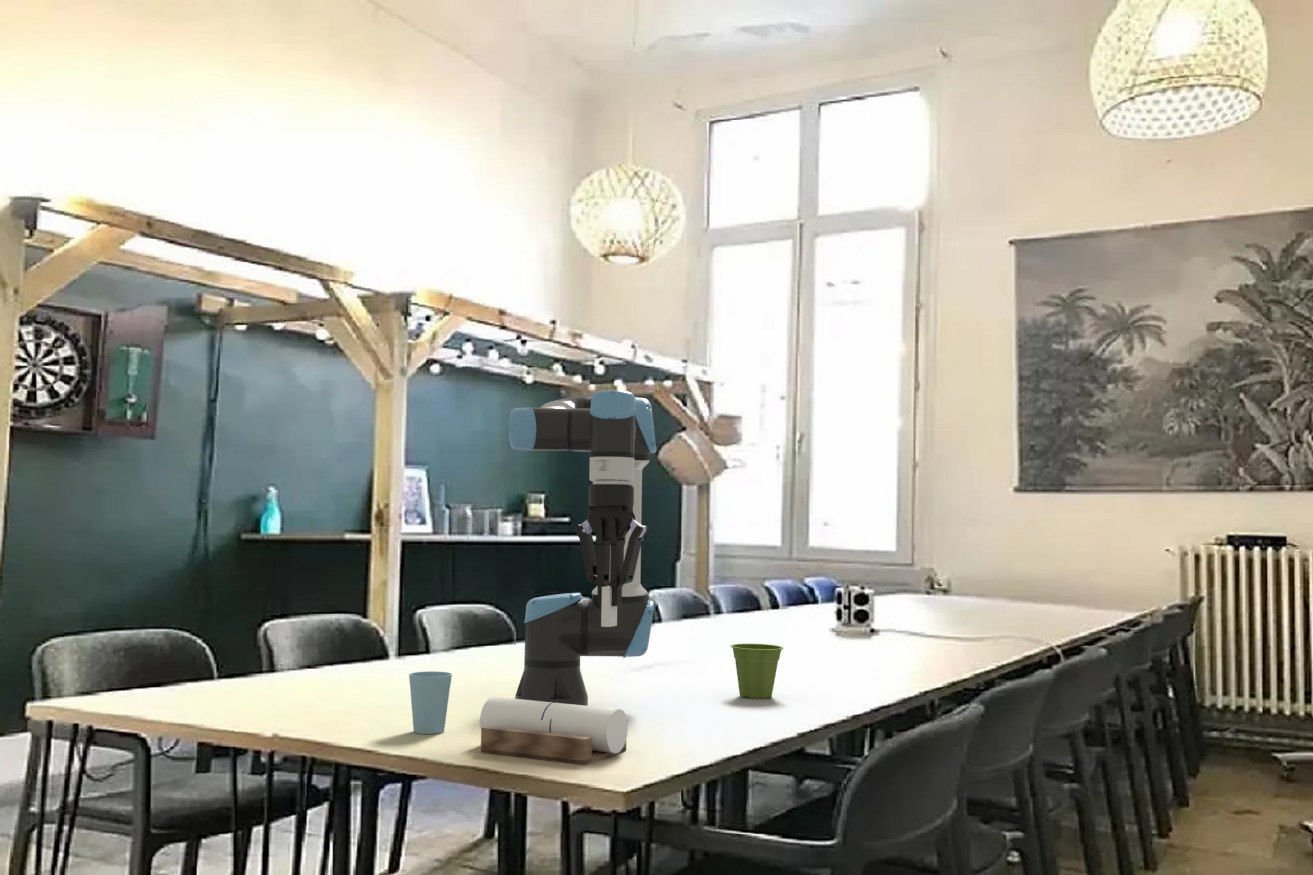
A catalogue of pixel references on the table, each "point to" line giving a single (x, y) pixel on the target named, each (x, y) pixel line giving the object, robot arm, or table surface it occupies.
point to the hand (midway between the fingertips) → (609, 626)
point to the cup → (429, 700)
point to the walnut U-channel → (540, 745)
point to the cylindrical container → (559, 720)
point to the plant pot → (756, 668)
